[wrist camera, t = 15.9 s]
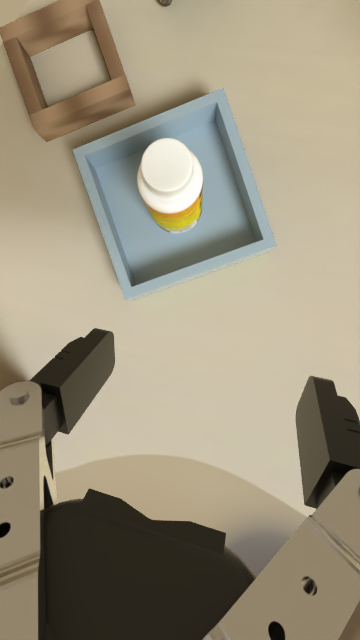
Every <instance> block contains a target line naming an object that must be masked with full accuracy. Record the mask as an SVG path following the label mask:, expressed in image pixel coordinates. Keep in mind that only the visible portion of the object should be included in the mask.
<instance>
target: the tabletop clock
mask: <svg viewBox="0 0 360 640" xmlns="http://www.w3.org/2000/svg"><path fill="white" fill-rule="evenodd" d="M159 1H160V3H161V4H162V5H164V6H168V5H170V4H171V2H172V0H159Z"/></svg>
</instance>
